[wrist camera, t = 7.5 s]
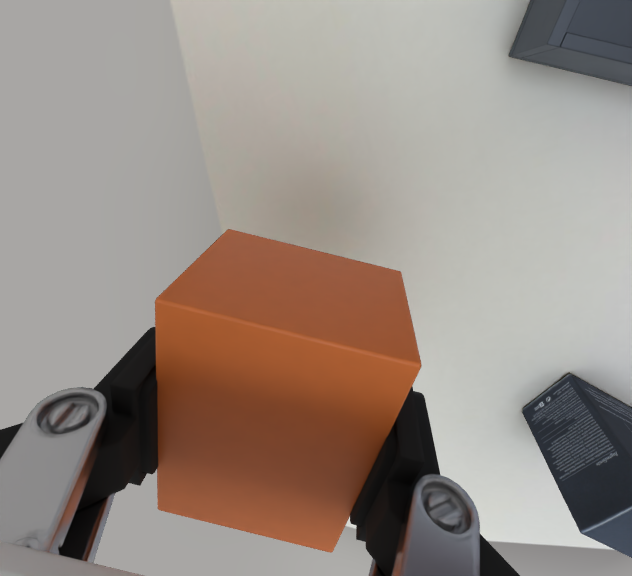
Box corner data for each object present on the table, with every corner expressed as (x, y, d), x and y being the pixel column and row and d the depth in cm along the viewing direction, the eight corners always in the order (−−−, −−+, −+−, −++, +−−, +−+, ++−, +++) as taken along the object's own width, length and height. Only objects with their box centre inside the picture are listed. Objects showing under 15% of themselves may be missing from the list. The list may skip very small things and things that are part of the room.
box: (518, 410, 32) (578, 535, 23) (569, 370, 30) (659, 494, 20) (586, 446, 33) (669, 580, 24) (640, 411, 30) (758, 546, 21)
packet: (211, 401, 13) (156, 510, 10) (228, 227, 10) (152, 298, 6) (340, 433, 13) (332, 554, 10) (401, 270, 10) (423, 365, 6)
